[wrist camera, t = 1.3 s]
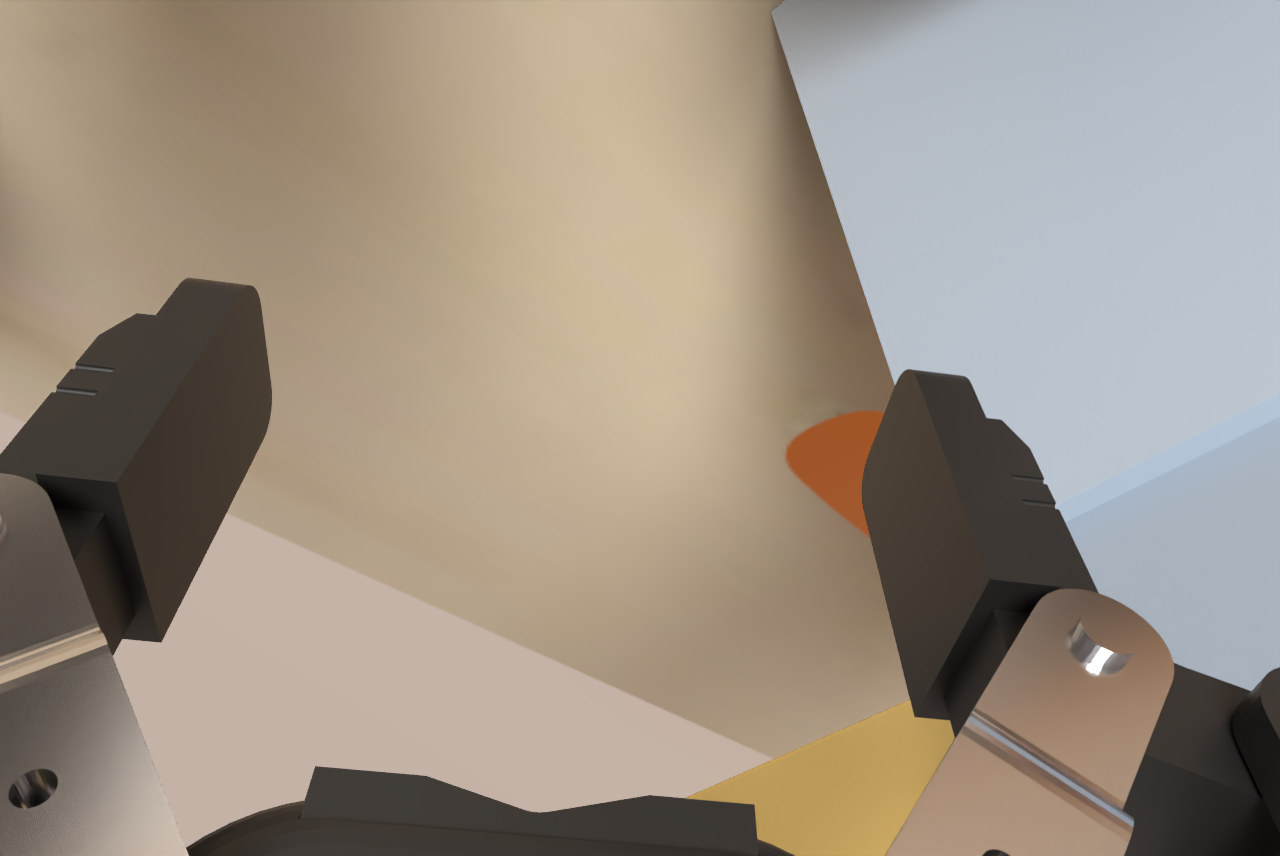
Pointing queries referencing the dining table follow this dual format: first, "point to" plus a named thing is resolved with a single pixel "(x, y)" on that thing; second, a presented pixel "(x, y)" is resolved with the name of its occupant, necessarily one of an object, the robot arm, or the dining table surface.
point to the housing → (1084, 266)
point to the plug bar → (843, 785)
